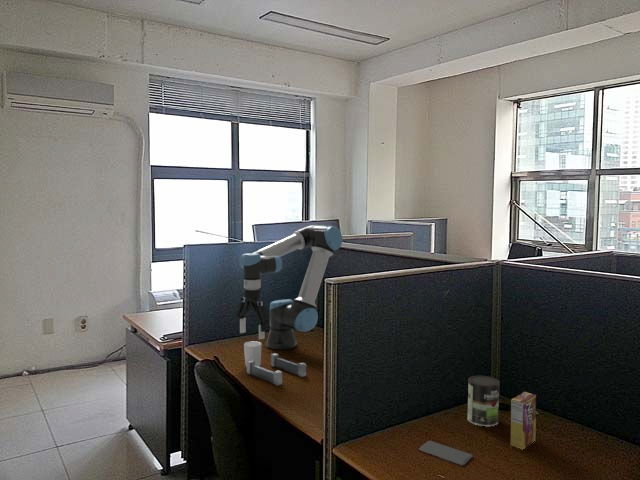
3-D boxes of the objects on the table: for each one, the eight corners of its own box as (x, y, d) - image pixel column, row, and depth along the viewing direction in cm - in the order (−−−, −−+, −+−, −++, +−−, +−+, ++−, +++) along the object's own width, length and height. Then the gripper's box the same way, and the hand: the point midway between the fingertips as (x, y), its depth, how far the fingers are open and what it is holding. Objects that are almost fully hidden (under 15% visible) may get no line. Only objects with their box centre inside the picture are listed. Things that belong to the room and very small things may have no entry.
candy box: (522, 437, 167) (524, 391, 165) (535, 442, 163) (537, 394, 162) (509, 446, 160) (510, 398, 159) (522, 451, 157) (524, 402, 156)
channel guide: (275, 364, 236) (274, 353, 235) (306, 375, 221) (306, 363, 221) (246, 373, 224) (246, 361, 224) (277, 385, 210) (277, 373, 210)
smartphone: (428, 439, 164) (474, 454, 154) (428, 442, 164) (474, 458, 154) (416, 449, 158) (462, 465, 148) (416, 452, 158) (462, 468, 149)
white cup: (263, 362, 238) (263, 341, 237) (259, 368, 230) (259, 346, 229) (246, 362, 238) (246, 340, 237) (242, 368, 231) (241, 346, 230)
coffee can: (505, 423, 176) (506, 383, 175) (481, 429, 172) (482, 388, 171) (483, 411, 186) (484, 373, 184) (460, 417, 181) (461, 377, 180)
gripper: (228, 285, 237) (228, 331, 239) (263, 293, 219) (263, 343, 221) (241, 283, 242) (242, 328, 244) (276, 291, 225) (276, 339, 226)
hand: (252, 335), depth 233 cm, fingers open, 13 cm apart
